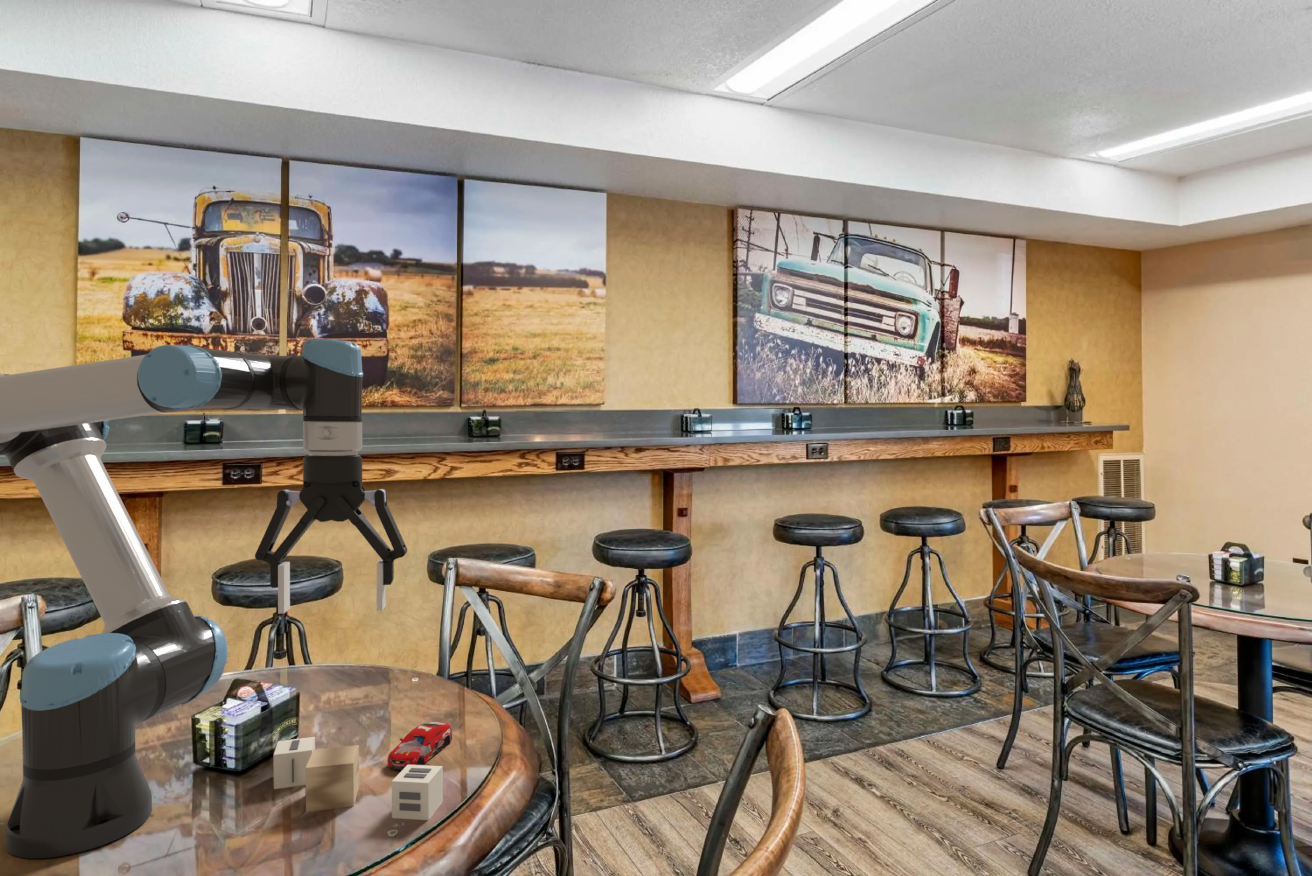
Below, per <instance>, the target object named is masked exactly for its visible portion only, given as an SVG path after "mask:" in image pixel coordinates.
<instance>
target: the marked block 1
mask: <svg viewBox="0 0 1312 876" xmlns="http://www.w3.org/2000/svg"><path fill="white" fill-rule="evenodd" d="M314 749H316V736H309V737H302V738H301V737H300V738H296V739H295V738H293V739H292V738H291V739H286V740H278V741H277V744H276V747H275V749H274V752H273V789H274V790H279V789H285V788H294V787H300V786H306V766H307V764H308V761H309V759H310V757H311V755H312V752H313V750H314Z"/></svg>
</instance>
